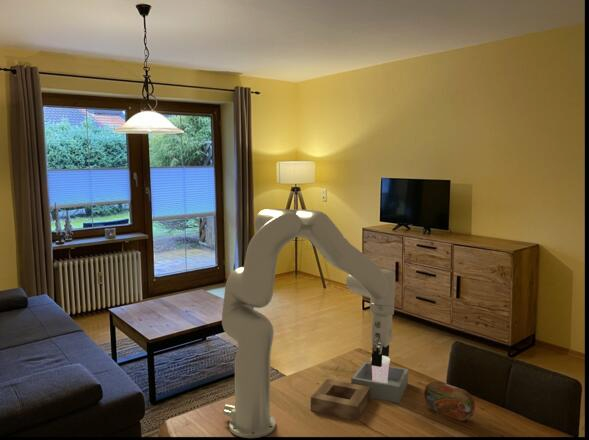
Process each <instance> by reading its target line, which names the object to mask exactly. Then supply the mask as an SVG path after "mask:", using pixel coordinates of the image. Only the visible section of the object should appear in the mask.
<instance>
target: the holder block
mask: <svg viewBox="0 0 589 440" xmlns="http://www.w3.org/2000/svg"><path fill="white" fill-rule="evenodd" d="M370 400H371V397H370V387H368V386H362V385H357V384H352V383H351V382H345V381H341V380H340V381H339V380H336V379H335V380H334V379H330V378H327V379H326V380H325V381H324V382H322V384H321V385H320V386H319V387H318V389H317V390H316V391H315V392H314V393H313V394H312V395H311V396H310V411H311V412H316V413H320V414H325V415H329V414H331V416H334V415H335V417H339V418H344V419H348V420H353V421H359V418H360V417H361V415H362V414H363V412H364V410H365V409H366V407H367V405H368V404H369V402H370Z"/></svg>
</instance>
